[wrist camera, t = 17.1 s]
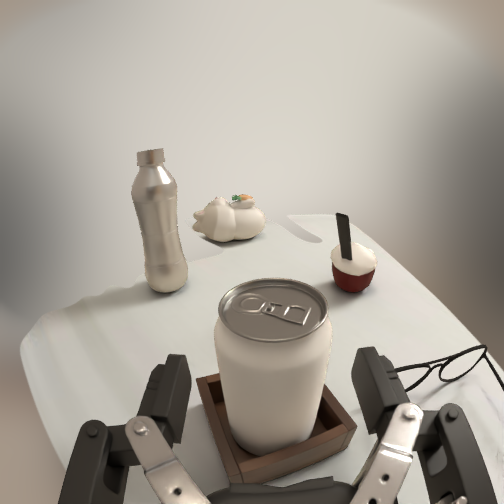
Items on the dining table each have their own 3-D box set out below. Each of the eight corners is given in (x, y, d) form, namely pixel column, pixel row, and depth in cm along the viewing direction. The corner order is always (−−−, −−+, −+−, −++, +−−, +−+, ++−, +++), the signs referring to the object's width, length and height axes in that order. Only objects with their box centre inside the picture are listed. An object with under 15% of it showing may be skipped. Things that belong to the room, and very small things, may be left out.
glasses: (470, 371, 21) (492, 339, 18) (517, 480, 8) (552, 457, 5) (353, 404, 21) (368, 372, 18) (384, 554, 8) (415, 554, 5)
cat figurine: (266, 189, 57) (193, 188, 53) (277, 217, 53) (196, 218, 48) (256, 220, 65) (190, 222, 60) (264, 248, 60) (193, 251, 56)
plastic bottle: (144, 299, 38) (118, 155, 30) (153, 277, 44) (134, 152, 36) (188, 296, 38) (169, 148, 30) (191, 274, 45) (177, 146, 37)
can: (252, 386, 23) (245, 266, 18) (322, 407, 20) (346, 284, 15) (215, 441, 18) (183, 323, 13) (295, 470, 15) (318, 363, 10)
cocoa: (358, 271, 43) (366, 197, 38) (385, 288, 38) (397, 208, 33) (310, 285, 40) (313, 203, 35) (335, 307, 35) (345, 216, 30)
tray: (234, 491, 14) (228, 476, 13) (202, 403, 22) (195, 378, 20) (347, 447, 17) (358, 426, 15) (296, 376, 25) (299, 349, 23)
